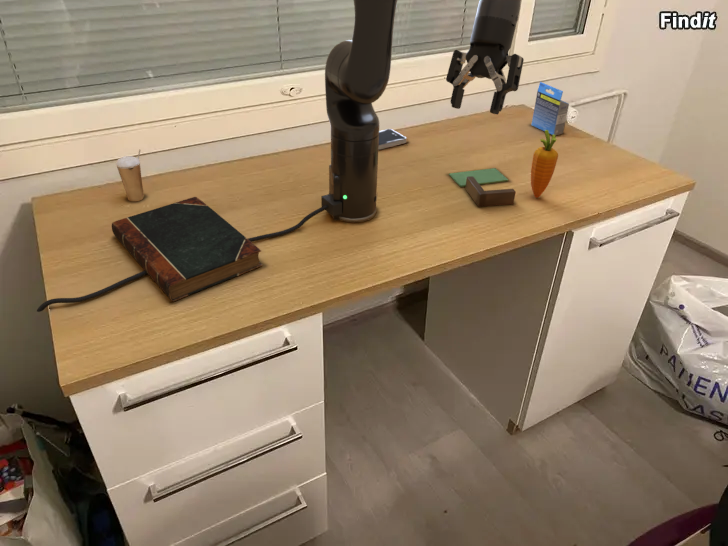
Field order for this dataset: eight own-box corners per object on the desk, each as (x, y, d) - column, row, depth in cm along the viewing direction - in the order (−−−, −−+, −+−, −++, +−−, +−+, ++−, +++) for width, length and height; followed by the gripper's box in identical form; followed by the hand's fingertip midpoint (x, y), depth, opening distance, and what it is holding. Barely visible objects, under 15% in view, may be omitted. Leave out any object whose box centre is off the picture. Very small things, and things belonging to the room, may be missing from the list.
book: (263, 266, 104) (199, 211, 120) (262, 249, 102) (196, 195, 117) (170, 303, 95) (114, 238, 110) (167, 285, 93) (109, 221, 108)
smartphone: (342, 139, 149) (390, 128, 155) (342, 144, 149) (390, 133, 156) (358, 150, 143) (407, 138, 150) (358, 155, 144) (407, 143, 151)
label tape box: (563, 133, 159) (574, 88, 152) (552, 136, 157) (562, 91, 150) (540, 123, 165) (549, 79, 158) (529, 125, 163) (538, 81, 156)
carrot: (548, 204, 126) (564, 138, 117) (525, 201, 127) (538, 135, 118) (547, 193, 130) (562, 129, 121) (524, 191, 131) (537, 126, 122)
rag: (460, 187, 131) (460, 185, 131) (448, 175, 136) (449, 173, 136) (508, 181, 134) (508, 179, 134) (495, 169, 139) (495, 168, 139)
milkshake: (154, 196, 124) (145, 152, 118) (131, 205, 121) (121, 160, 115) (143, 189, 126) (134, 146, 121) (120, 197, 123) (109, 153, 117)
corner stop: (478, 206, 124) (480, 194, 122) (465, 188, 131) (466, 176, 129) (513, 204, 126) (515, 191, 124) (498, 186, 132) (500, 174, 130)
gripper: (452, 13, 108) (432, 102, 111) (521, 14, 99) (497, 111, 102) (473, 25, 113) (453, 110, 117) (540, 27, 105) (517, 119, 108)
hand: (474, 110), depth 110 cm, fingers open, 8 cm apart
